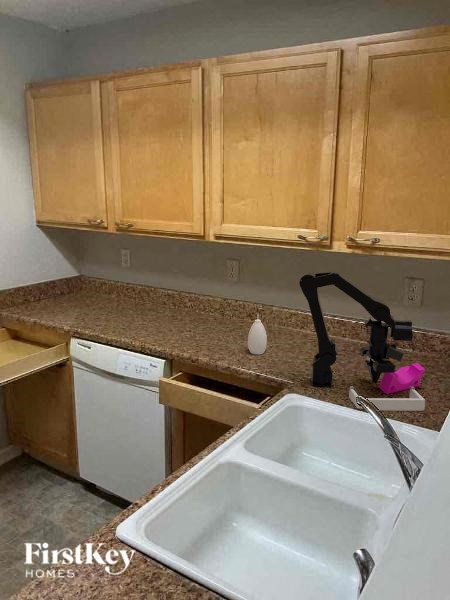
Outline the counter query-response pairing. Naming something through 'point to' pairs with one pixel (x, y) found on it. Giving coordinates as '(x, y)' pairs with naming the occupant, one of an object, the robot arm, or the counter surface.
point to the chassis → (394, 402)
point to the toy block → (402, 379)
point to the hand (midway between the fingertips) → (374, 383)
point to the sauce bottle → (257, 338)
